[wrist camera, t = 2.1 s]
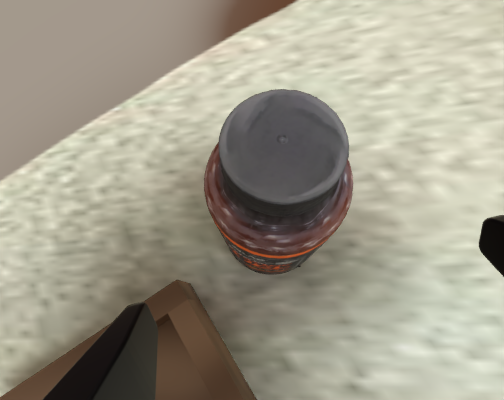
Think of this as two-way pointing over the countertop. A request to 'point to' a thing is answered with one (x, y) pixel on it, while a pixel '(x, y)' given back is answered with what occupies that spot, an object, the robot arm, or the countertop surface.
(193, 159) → the countertop surface
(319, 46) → the countertop surface
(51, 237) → the countertop surface
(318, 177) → the supplement bottle
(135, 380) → the robot arm
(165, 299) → the tray
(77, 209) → the countertop surface
